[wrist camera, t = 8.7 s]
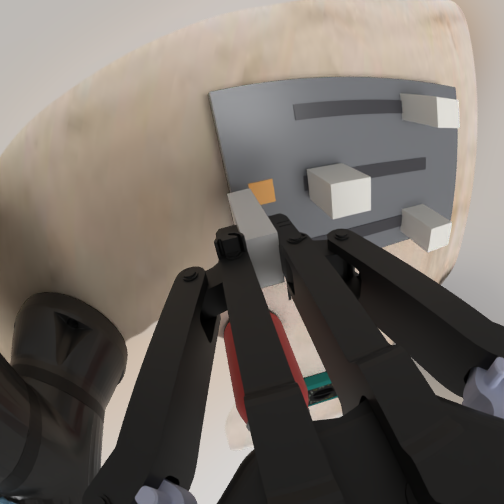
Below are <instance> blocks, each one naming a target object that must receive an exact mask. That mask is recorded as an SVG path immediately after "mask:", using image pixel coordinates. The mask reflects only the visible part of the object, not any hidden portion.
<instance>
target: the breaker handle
mask: <svg viewBox="0 0 504 504" xmlns="http://www.w3.org/2000/svg"><path fill="white" fill-rule="evenodd" d="M307 176H308V186H309V195H310V200H312V201H313V202H314V203H315V204H316V205H317V206H318V207H320V208H321V209H322V210H323V211H324V212H325V213H326V214H327V215H328V216H330V217H331V218H332V219H337V218H341V217H345V216H349V215H353V214H358V213H362V212H366V211H370V210H371V177H370V176H368V175H366V174H364V173H362V172H360V171H358V170H356V169H354V168H352V167H349V166H347V165H345V164H343V163H340V164H333V165H328V166H322V167H316V168H311V169H307Z"/></svg>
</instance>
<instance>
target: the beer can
mask: <svg viewBox="0 0 504 504" xmlns="http://www.w3.org/2000/svg"><path fill="white" fill-rule="evenodd" d="M270 314H271V317H272V320H273V323H274V325H275V328H276V331H277V334H278V336H279V339H280V342H281V345H282V347H283V350H284V353H285V356H286V358H287V361H288V364H289V367H290V369H291V372H292V375H293V377H294V380H295V382H297V383H298V385H299V387H300V389H301V392H302V394H303V397H304V400H305V402H306V405H307V408H308V390H307V386H306V384H305V381H304V379H303V376H302V374H301V371H300V369H299V366H298V363H297V361H296V358H295V356H294V353H293V351H292V348H291V346H290V343H289V341H288V338H287V336H286V333H285V331H284V328H283V325H282V323H281V321H280V320H279V318H278V317H277V316H276V315H274V314H272V313H271V312H270ZM224 341H225V347H226V353H227V358H228V365H229V370H230V376H231V381H232V386H233V392H234V397H235V402H236V408H237V410H238V412H239V414H240V416H241V417H242V419H243V420H244V422H245V423H246V424H247V426H246V427H247V429H248V430H249V431H250V427H249V423H248V418H247V414H246V409H245V404H244V396H245V395H244V389H243V384H242V380H241V375H240V370H239V365H238V360H237V355H236V351H235V346H234V340H233V335H232V330H231V325H230V322H229V323H228V324H227V326H226V328H225V330H224ZM308 410H309V408H308ZM309 413H310V412H309Z"/></svg>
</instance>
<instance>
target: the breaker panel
mask: <svg viewBox="0 0 504 504" xmlns="http://www.w3.org/2000/svg"><path fill="white" fill-rule="evenodd" d="M208 96H209V101H210V105H211V110H212V115H213V119H214V124H215V128H216V133H217V137H218V142H219V146H220V151H221V156H222V160H223V164H224V169H225V173H226V178H227V182H228V187H229V191H230V193H232V192H236V191H240V190H244V189H249V188H250V189H251V191H252V192H253V194H254V196H255V197H256V199H257V200H258V202H259V204H260V205H261V207H262V208H263V210H264V211H265V213H266V215H267V216H271V215H275V214H279V213H281V214H284V215H286V216H287V217H288V218H289V219H290V221H291V222H292V224H293V225H294V226H295V227H296V228H297V230H298V231H299V232H302V233H305V234H307V235H308V236H309V237H310V238H311V239H312V240H327V235H328V233H329V232H331V231H332V230H336V229H348V230H350V231H353V232H355V233H356V234H358V235H360V236H362V237H363V238H365V239H367V240H369V241H370V242H372V243H374V244H375V245H377V246H379V247H381V248H382V247H385V246H388V245H391V244H394V243H397V242H401V241H404V240H407V239H411V240H413V241H414V242H415V243H416V244H418V245H419V246H420V247H421V248H423V249H424V250H425V251H426V252H431V251H433V250H436V249H438V248H441V247H443V246H446V245H448V242H449V237H450V232H451V226H452V222H451V221H450V220H451V214H452V207H453V199H454V190H455V180H456V167H457V136H458V133H457V128H460V123H459V100H456V90H455V87H450V86H445V85H439V84H433V83H427V82H419V81H411V80H402V79H390V78H373V77H320V78H302V79H290V80H280V81H271V82H263V83H256V84H250V85H243V86H238V87H232V88H227V89H222V90H217V91H212V92H209V93H208ZM340 163H343V164H345V165H347V166H349V167H352V168H354V169H356V170H358V171H360V172H362V173H364V174H366V175H368V176H370V177H371V210H370V211H366V212H362V213H358V214H353V215H349V216H345V217H341V218H337V219H332V218H331V217H330V216H328V215H327V214H326V213H325V212H324V211H323V210H322V209H321V208H320V207H318V206H317V205H316V204H315V203H314V202H313V201H312V200H310V195H309V186H308V176H307V169H311V168H316V167H322V166H328V165H333V164H340Z"/></svg>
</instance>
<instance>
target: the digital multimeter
mask: <svg viewBox="0 0 504 504" xmlns="http://www.w3.org/2000/svg"><path fill="white" fill-rule="evenodd" d="M303 379H304V381H305V384H306V386H307V390H308V407H309V406H312V405H315V404H318V403H321V402H324V401H327V400H331V399H334V398H337V397H338V396H337V394H336V391H335V389H334V387H333V385H332V383H331V380H330V378H329V376H328V374H327V372H323V373H320V374H316V375H313V376H310V377H306V378H303Z"/></svg>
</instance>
